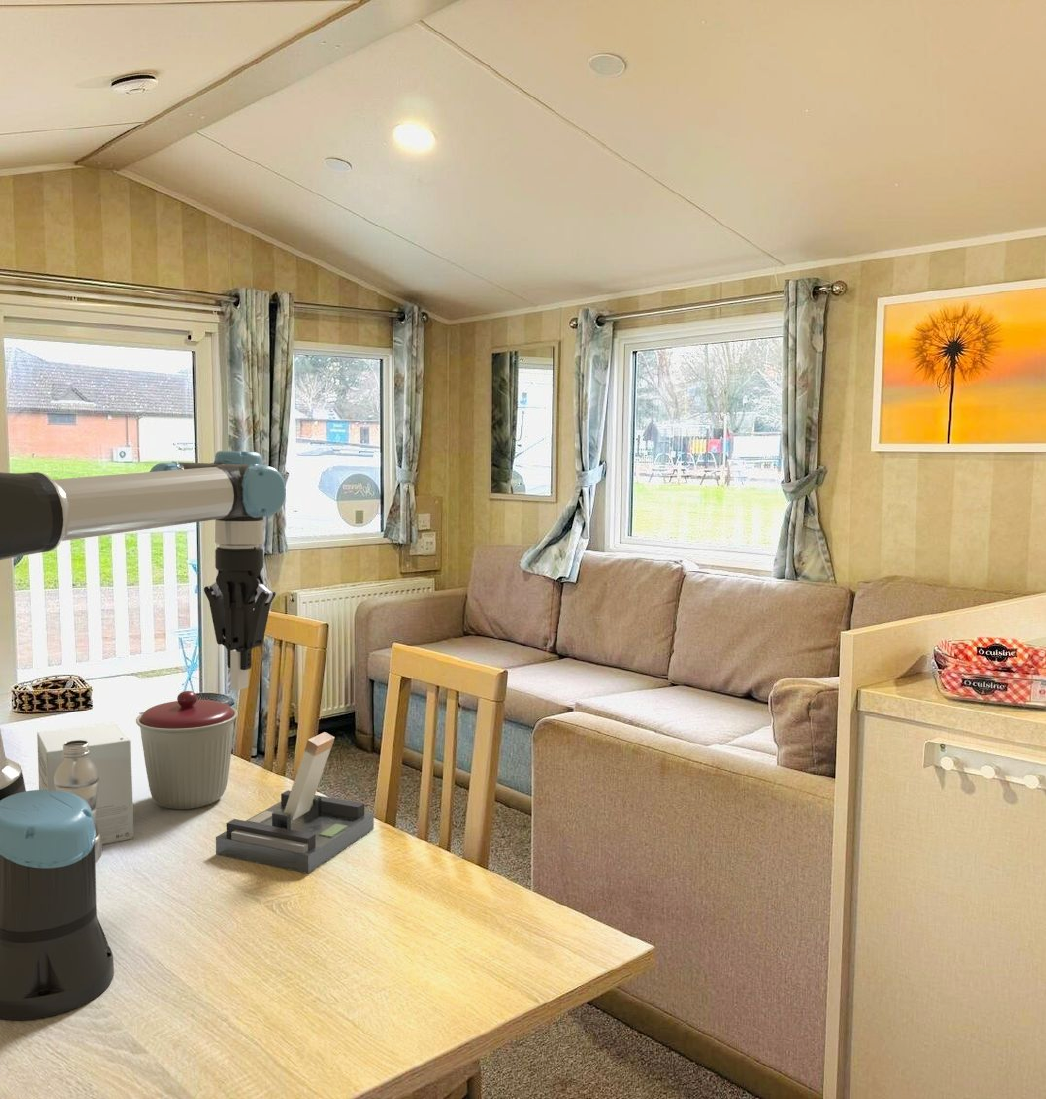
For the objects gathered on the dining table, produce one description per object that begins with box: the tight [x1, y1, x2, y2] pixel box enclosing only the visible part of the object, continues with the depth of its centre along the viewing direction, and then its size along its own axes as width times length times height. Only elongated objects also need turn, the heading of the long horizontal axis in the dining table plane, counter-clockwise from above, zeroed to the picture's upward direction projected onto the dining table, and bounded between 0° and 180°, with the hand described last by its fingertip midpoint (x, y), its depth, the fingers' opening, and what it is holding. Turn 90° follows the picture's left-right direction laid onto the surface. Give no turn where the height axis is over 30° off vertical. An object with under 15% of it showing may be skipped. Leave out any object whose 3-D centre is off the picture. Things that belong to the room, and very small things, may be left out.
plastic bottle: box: [54, 740, 103, 864], centre depth 155 cm, size 6×7×20 cm
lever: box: [284, 731, 335, 821], centre depth 165 cm, size 7×2×15 cm, turn 158°
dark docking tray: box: [226, 789, 365, 854], centre depth 166 cm, size 18×16×2 cm
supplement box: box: [36, 721, 134, 845], centre depth 168 cm, size 13×13×18 cm
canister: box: [135, 690, 239, 810], centre depth 184 cm, size 18×18×21 cm
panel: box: [215, 794, 375, 875], centre depth 167 cm, size 20×18×6 cm
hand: (239, 688), depth 161 cm, fingers closed
